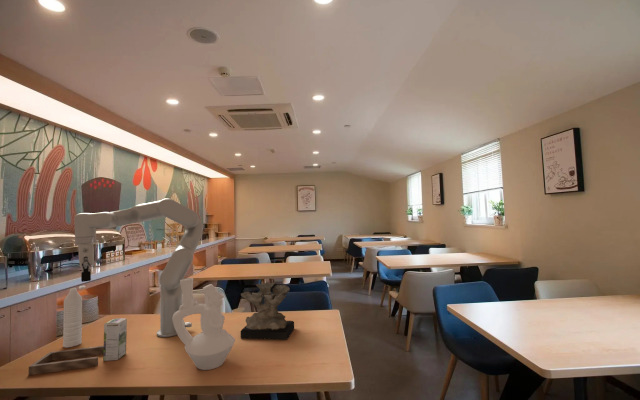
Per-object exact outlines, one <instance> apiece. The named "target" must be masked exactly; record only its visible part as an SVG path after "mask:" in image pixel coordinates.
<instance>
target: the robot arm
mask: <svg viewBox="0 0 640 400" xmlns="http://www.w3.org/2000/svg"><path fill="white" fill-rule="evenodd" d="M162 218H167V219H169V220H171V221H173V222H175V223H177V224H179V225H180V226H182V227H184V232H183V234H182V236H181V238H180V241H179V242H178V244H177V246H176V247H175V249H174V250H173V251H172V254H171V256H170V258H169V259H168V261H167V263H166V265H165V267H164V269H163V270H162V271H161V273H160V275H159V285H160V288H159V289H160V290H159V291H160V299H159V303H160V304H159V305H160V306H159V307H160V308H159V309H160V311H159V312H160V318H159V319H160V321H159V322H160V324H159V325H160V326H159V327H160V329H158V330H157V332H156V336H157V337H160V338H168V337H175V336H178V335H177V332H176V330H175V328H174V324H173V320H172V317H173V314H174V313H175V312H177V311H178V310H179V307H180V306H181V305H183V295H182V289H181V284H180V280H182V279H185V276H186V274H187V272H188V271H189V269H190V267H191V265H192V262H193V260H194V254H195V252H196V250H197V247H198V246H199V243H200V241H201V239H202V236H203V232H204V228H203V223H202V221H201V219H200V216H199V214H198V212H196V211H194V210H192V209H191V208H189V207H187V206H185V205H183V204H181V203H180V202H178V201H176V200H174V199H173V198H168V197H167V198H163V199H161V200H156V201H152V202H147V203H146V202H145V203H139V204H137V205H133V206H132V207H129V208H124V209H120V210H115V211H110V212H109V211H102V212H95V213H92V212H91V213H90V212H81V213H77V214H75V215H74V246H77V249H78V261H79V267H80V268H81V273H80V276H81V282H82V283H85V282H90V281H92V276H91V275H92V271H91V270H92V269H91V266H92V267H94V266H95V249H94V245H95V244H97V229H113V228H118V227H122V226H127V225H131V224H139V223H145V222H148V221H153V220H158V219H162ZM183 323H184V326H185V327H186V328H192V327H193V324H192V323H193V322H190V321H188V322H185V319H183Z"/></svg>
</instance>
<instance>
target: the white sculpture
mask: <svg viewBox="0 0 640 400" xmlns="http://www.w3.org/2000/svg"><path fill="white" fill-rule="evenodd" d="M180 284H181V289H182V305H181V306H180V307H179V310H178V311H177V312H175V313H174V314H173V317H172V320H173V324H174V328H175V330H176V332H177V335H176V336H178V338H179V339H180V341H181V342H182V343H183V344H184V350H185V352H186V354H187V355H188V356H189V358H190V359H191V361H193V363H194V366H195V367H196V368H197V369H198V370H202V371H209V370H214V369H217V368H219V367H221V366H222V365H223V364H224V363H225V361H226V359H227V357H228V355H229V354H230V352H231V350H232V348H233V346H234V345H235V342H236V338H235V337H234V336H233V335H232V334H231V333H229V332H227V330H226V328H225V329H224V323H225V319H226V318H225V315H224V314H223V313H222V312H221V308H220V307H221V306H222V305H223V299H224V298H225V295H223V294H221V293H220V292H219V290H217V289H216V287H215V285H213V284H212V283H209V284H207V285H205V286H203V287H202V291H203V295H204V296H203V298H204V303H199V302H198V301H197V300H195V301H194V292H193V291H194V289H193V288H194V277H188V278H183V279H182V280H180ZM197 314H200V319H199V320H200V328H201V331H202V332H199V333H197V334H195V335H194V336H193V335H191V333H190V332H189V331H188V329H187V327H185V326H184V323H183V320H184V318H186V317H189V316H192V315H197Z"/></svg>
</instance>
